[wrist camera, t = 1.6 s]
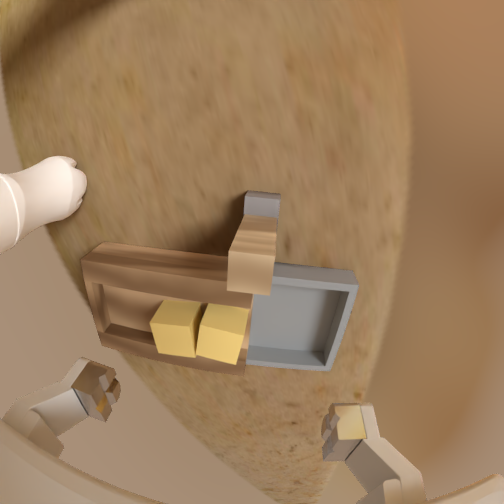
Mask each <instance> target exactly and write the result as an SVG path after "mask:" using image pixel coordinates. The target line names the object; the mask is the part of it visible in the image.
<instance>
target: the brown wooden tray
mask: <svg viewBox="0 0 504 504" xmlns="http://www.w3.org/2000/svg"><path fill="white" fill-rule="evenodd" d="M80 261H81V267H82V272H83V277H84V281H85V286H86V290H87V294H88V299H89V303H90V307H91V310H92V314H93V318H94V321H95V325H96V328H97V331H98V335H99V338H100V341H101V344H102V346H105V347H108V348H111V349H115V350H118V351H122V352H125V353H129V354H133V355H137V356H140V357H144V358H148V359H152V360H157V361H161V362H165V363H170V364H175V365H179V366H184V367H189V368H194V369H200V370H205V371H211V372H217V373H224V374H230V375H237V376H244V373H245V367H246V359H247V353H248V347H249V338H250V328H251V319H252V309H253V299H254V294H251V293H243V292H235V291H227V276H228V257H226V256H218V255H209V254H201V253H192V252H184V251H176V250H168V249H159V248H151V247H143V246H135V245H127V244H119V243H111V242H103V243H102V244H100V245H99V246H98V247H96V248H95V249H93V250H92V251H91V252H89V253H88V254H87V255H86V256H84V257H83V258H82V259H80ZM164 300H173V301H186V302H200V305H201V312H202V318H203V316H204V313H205V311H206V308H207V306H208V303H212V304H219V305H226V306H233V307H239V308H243V309H247V310H249V313H248V318H247V323H246V329H245V334H244V338H243V342H242V345H241V349H240V352H239V356H238V359H237V362H236V365H234V364H230V363H226V362H222V361H218V360H214V359H210V358H206V357H203V356H199V355H196V358H193V357H184V356H176V355H169V354H162V353H158V350H157V347H156V343H155V340H154V337H153V333H152V330H151V326H150V321H151V319H152V318H153V316H154V315H155V313H156V311H157V310H158V308H159V307H160V305H161V304H162V302H163V301H164Z"/></svg>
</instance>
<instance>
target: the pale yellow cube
mask: <svg viewBox="0 0 504 504" xmlns="http://www.w3.org/2000/svg"><path fill="white" fill-rule="evenodd" d="M248 313H249V310H247V309H243V308H239V307H233V306H226V305H219V304H212V303H208V306H207V308H206V311H205V313H204V316H203V318H202V321H201V323H200V328H199V334H198V341H197V348H196V355H199V356H203V357H206V358H210V359H214V360H218V361H222V362H226V363H230V364H234V365H236V362H237V359H238V356H239V352H240V349H241V345H242V342H243V338H244V334H245V329H246V323H247V318H248Z"/></svg>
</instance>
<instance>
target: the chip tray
mask: <svg viewBox="0 0 504 504" xmlns="http://www.w3.org/2000/svg"><path fill="white" fill-rule="evenodd" d="M358 287H359V284H358V282H357V279H356V277H355V275H354V273H353V271H349V270H340V269H331V268H322V267H313V266H304V265H295V264H286V263H278V262H274V269H273V277H272V284H271V292H270V296H268V295H260V294H254V299H253V309H252V319H251V328H250V338H249V347H248V353H247V359H246V364H250V365H259V366H268V367H278V368H289V369H302V370H318V371H330V370H331V367H332V365H333V362H334V359H335V357H336V354H337V351H338V349H339V346H340V343H341V340H342V337H343V335H344V332H345V329H346V326H347V323H348V320H349V317H350V314H351V310H352V307H353V304H354V301H355V298H356V294H357V291H358Z"/></svg>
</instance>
